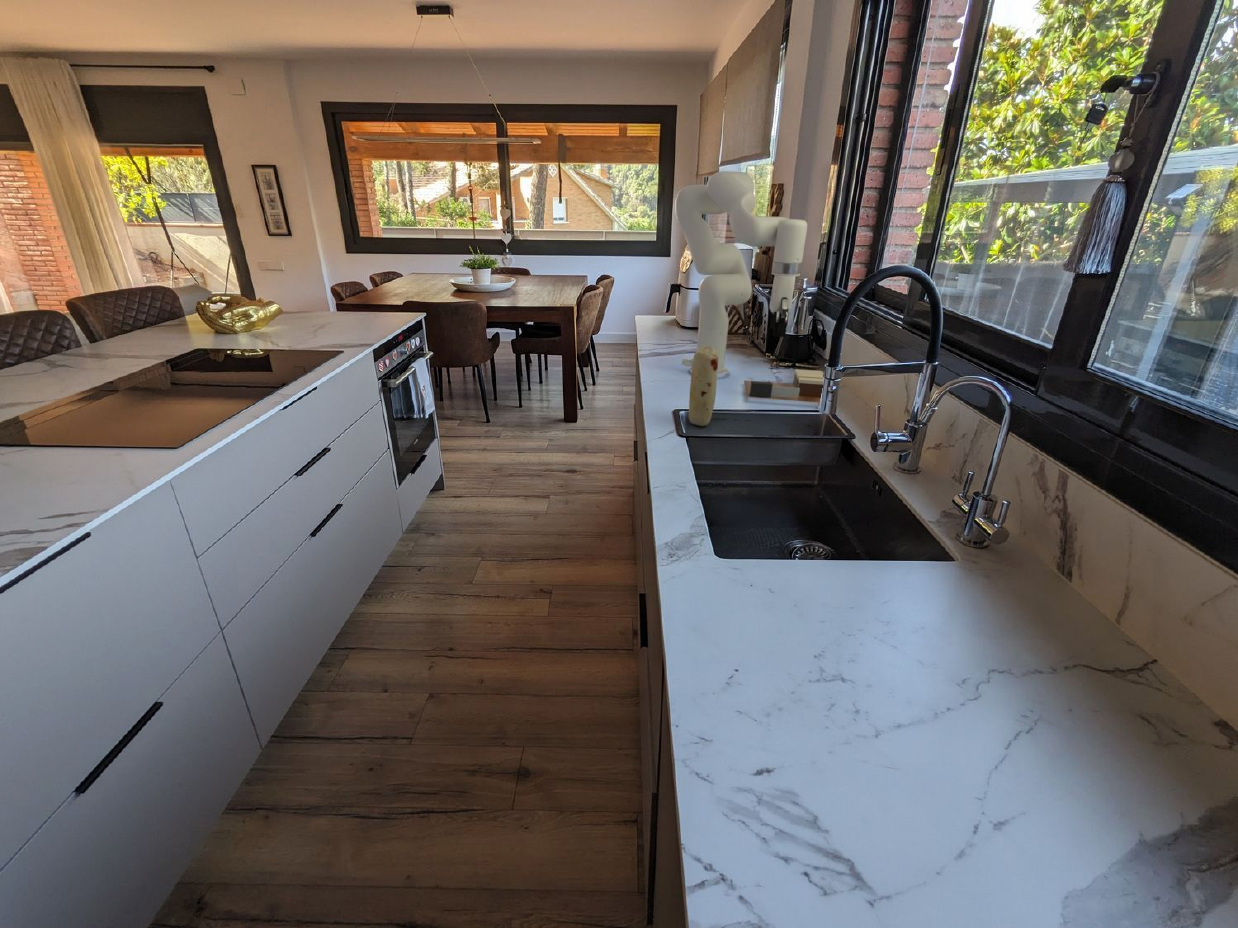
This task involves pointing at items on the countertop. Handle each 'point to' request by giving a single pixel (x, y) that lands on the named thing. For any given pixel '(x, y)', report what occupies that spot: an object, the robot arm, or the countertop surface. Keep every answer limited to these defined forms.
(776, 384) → the cutting board
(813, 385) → the cake slice
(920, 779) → the countertop surface
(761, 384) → the knife
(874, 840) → the countertop surface
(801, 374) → the cake
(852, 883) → the countertop surface
